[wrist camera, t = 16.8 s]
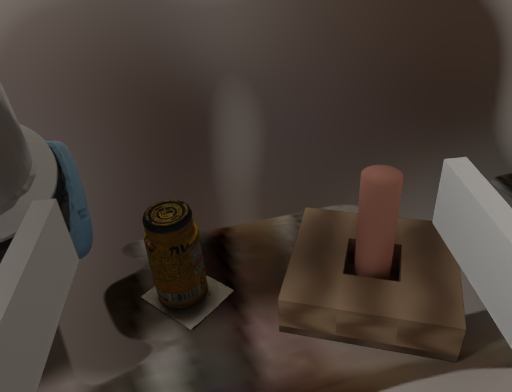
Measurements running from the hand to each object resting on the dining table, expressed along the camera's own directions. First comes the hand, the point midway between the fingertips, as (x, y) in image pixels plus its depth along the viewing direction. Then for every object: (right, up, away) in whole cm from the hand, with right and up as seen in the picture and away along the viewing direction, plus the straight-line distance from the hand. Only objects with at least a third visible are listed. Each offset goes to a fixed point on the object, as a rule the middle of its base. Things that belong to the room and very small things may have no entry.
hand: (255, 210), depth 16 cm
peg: (+13, -10, +39) cm, 42 cm away
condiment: (-8, -11, +41) cm, 43 cm away
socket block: (+13, -10, +39) cm, 43 cm away
